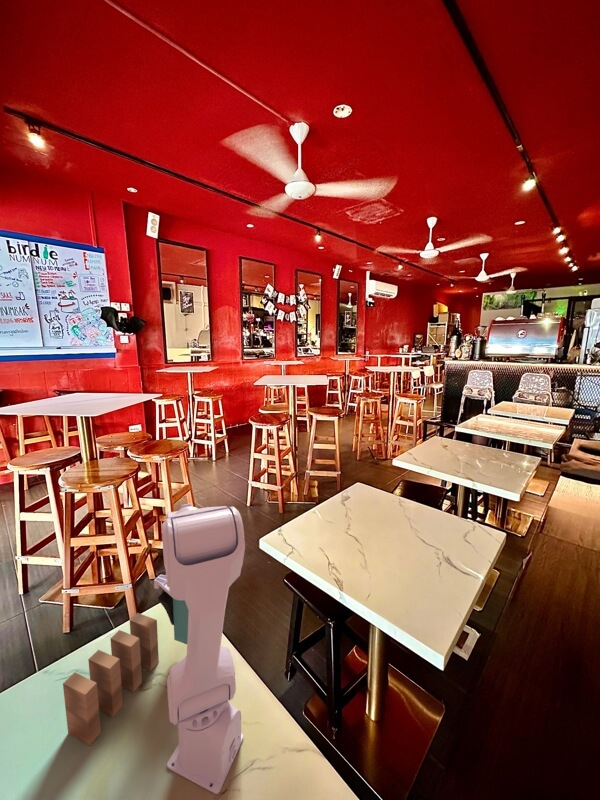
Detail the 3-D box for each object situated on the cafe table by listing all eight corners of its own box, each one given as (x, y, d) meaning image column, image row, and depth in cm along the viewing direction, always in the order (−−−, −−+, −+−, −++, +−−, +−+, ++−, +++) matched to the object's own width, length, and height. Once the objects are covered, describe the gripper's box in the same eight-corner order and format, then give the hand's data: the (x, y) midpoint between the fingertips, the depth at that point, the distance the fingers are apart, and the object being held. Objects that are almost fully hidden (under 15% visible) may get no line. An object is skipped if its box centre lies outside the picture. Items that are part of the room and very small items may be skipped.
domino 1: (100, 732, 56) (96, 682, 54) (90, 745, 54) (85, 694, 53) (79, 720, 58) (74, 672, 56) (68, 733, 56) (62, 683, 54)
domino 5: (200, 639, 70) (199, 597, 68) (194, 647, 68) (193, 604, 66) (180, 632, 72) (179, 590, 70) (174, 639, 70) (172, 597, 68)
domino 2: (122, 705, 60) (119, 658, 59) (113, 717, 58) (109, 668, 57) (102, 695, 62) (98, 649, 60) (92, 706, 60) (88, 659, 58)
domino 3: (141, 682, 64) (139, 638, 63) (133, 692, 63) (130, 646, 61) (122, 673, 66) (119, 629, 64) (113, 683, 64) (110, 638, 63)
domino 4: (158, 662, 69) (156, 619, 67) (151, 670, 67) (149, 627, 65) (139, 654, 70) (137, 612, 69) (132, 662, 68) (129, 620, 67)
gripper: (226, 563, 68) (227, 620, 71) (169, 547, 73) (171, 602, 75) (206, 585, 62) (207, 648, 64) (145, 567, 67) (148, 626, 69)
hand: (186, 625), depth 69 cm, fingers closed on domino 5, 5 cm apart
